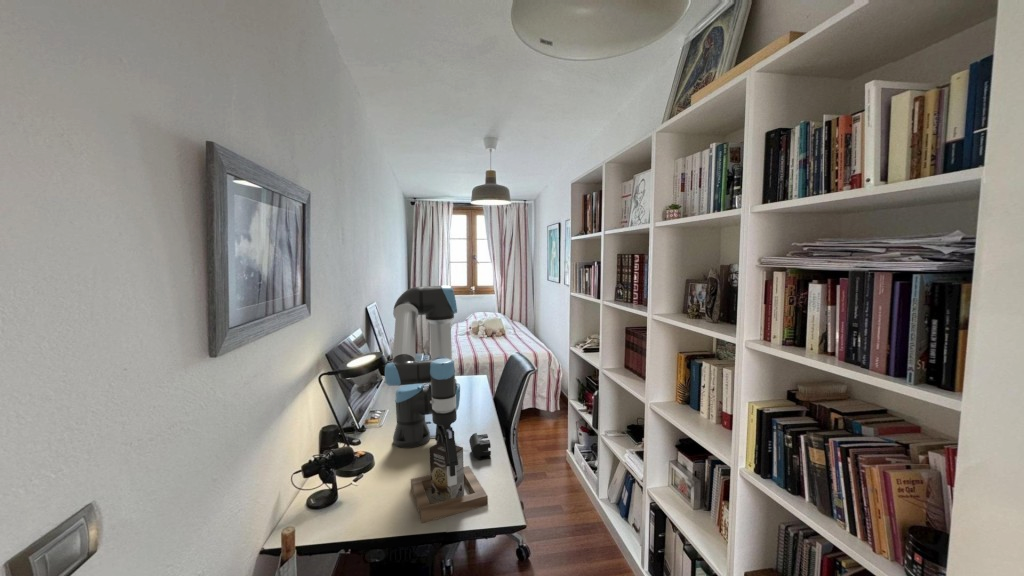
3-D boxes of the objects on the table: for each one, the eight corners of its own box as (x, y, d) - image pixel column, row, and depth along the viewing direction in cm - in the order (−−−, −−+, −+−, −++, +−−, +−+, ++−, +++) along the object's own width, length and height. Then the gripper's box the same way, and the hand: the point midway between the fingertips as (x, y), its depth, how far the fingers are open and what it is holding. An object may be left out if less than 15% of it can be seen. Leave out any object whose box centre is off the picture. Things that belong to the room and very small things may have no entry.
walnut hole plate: (411, 487, 135) (410, 479, 135) (469, 473, 143) (468, 465, 143) (422, 523, 117) (421, 513, 117) (487, 505, 124) (487, 495, 124)
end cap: (469, 450, 161) (468, 433, 161) (487, 447, 163) (486, 431, 162) (472, 462, 151) (471, 444, 151) (491, 459, 153) (490, 442, 152)
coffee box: (430, 496, 130) (428, 447, 129) (444, 487, 135) (442, 440, 134) (451, 506, 125) (449, 455, 123) (465, 495, 130) (463, 446, 129)
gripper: (424, 398, 138) (427, 459, 139) (441, 425, 115) (444, 497, 116) (446, 395, 141) (449, 454, 142) (466, 420, 118) (469, 491, 119)
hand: (447, 474), depth 129 cm, fingers open, 13 cm apart
